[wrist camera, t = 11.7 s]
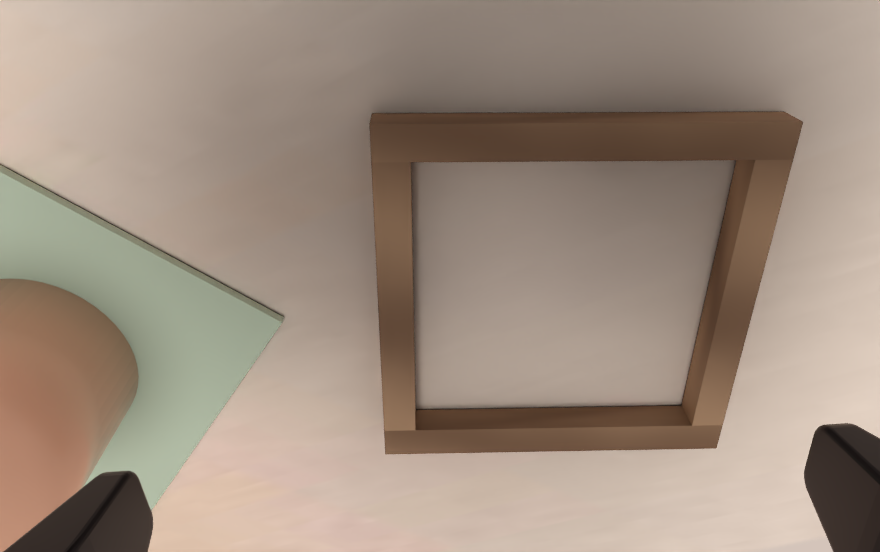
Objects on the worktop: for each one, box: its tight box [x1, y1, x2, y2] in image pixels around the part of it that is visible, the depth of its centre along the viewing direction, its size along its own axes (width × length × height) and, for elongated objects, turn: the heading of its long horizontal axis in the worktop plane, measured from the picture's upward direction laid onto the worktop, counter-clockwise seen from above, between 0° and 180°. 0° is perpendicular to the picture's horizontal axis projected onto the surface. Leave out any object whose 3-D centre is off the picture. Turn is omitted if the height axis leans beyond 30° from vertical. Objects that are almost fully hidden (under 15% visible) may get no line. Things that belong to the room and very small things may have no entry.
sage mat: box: [0, 165, 284, 510], centre depth 21 cm, size 11×11×1 cm
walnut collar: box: [370, 112, 803, 454], centre depth 20 cm, size 11×11×1 cm
